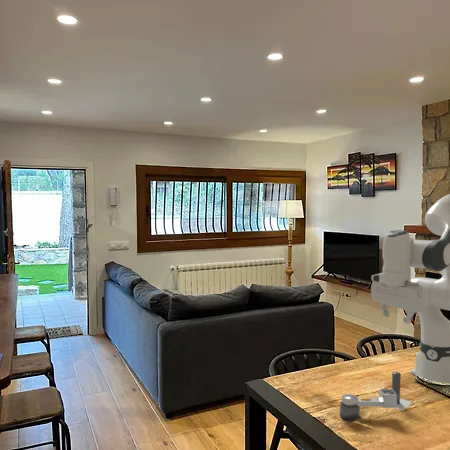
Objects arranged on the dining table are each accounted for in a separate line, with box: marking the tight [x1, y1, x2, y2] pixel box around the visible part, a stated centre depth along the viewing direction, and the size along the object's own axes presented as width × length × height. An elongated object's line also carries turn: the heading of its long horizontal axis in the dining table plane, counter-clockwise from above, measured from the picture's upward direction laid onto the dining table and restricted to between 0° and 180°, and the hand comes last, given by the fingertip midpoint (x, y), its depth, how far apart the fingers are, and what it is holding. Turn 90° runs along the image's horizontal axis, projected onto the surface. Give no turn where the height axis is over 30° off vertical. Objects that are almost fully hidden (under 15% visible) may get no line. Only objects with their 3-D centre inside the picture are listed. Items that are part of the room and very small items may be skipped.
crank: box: [341, 388, 397, 409], centre depth 132 cm, size 17×5×4 cm, turn 86°
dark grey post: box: [391, 371, 402, 404], centre depth 140 cm, size 3×3×10 cm
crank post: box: [339, 400, 361, 422], centre depth 132 cm, size 6×6×4 cm
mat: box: [395, 398, 413, 412], centre depth 140 cm, size 8×8×1 cm
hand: (396, 319), depth 139 cm, fingers open, 8 cm apart
